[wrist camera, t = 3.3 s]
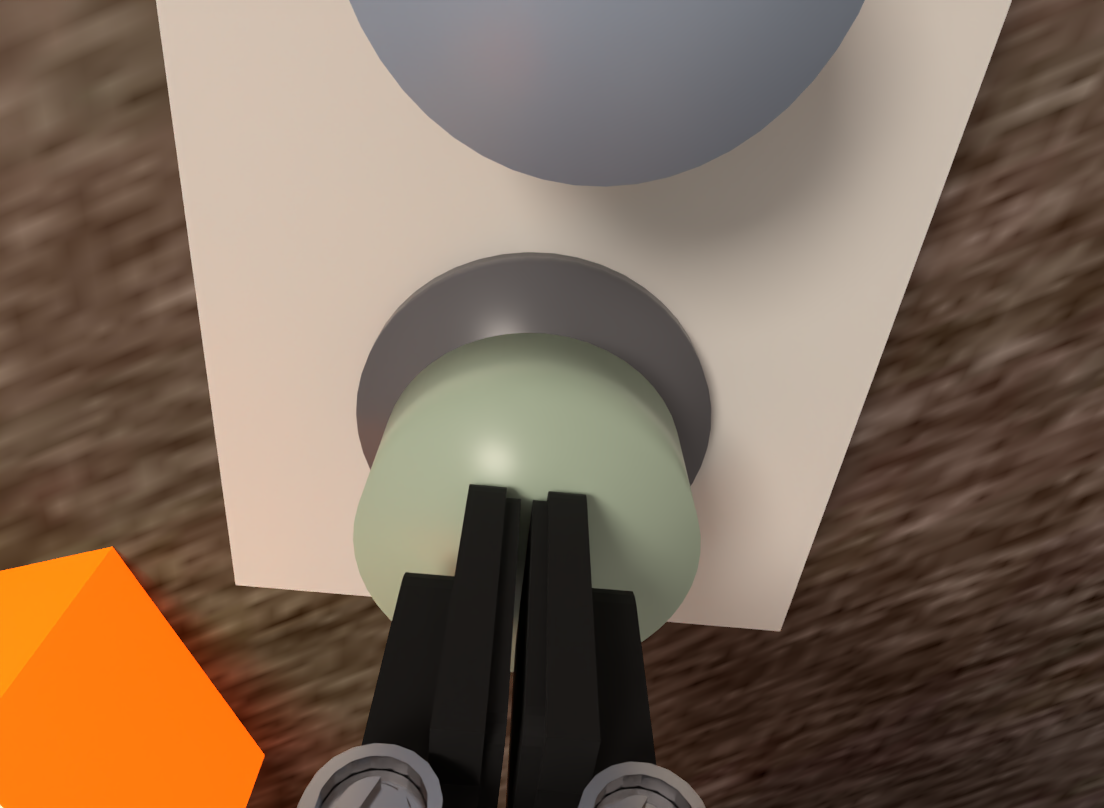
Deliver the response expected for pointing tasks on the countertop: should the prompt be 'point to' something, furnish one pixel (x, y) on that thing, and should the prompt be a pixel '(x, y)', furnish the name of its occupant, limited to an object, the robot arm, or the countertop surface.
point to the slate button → (604, 76)
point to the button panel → (548, 274)
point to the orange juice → (108, 698)
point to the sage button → (532, 468)
